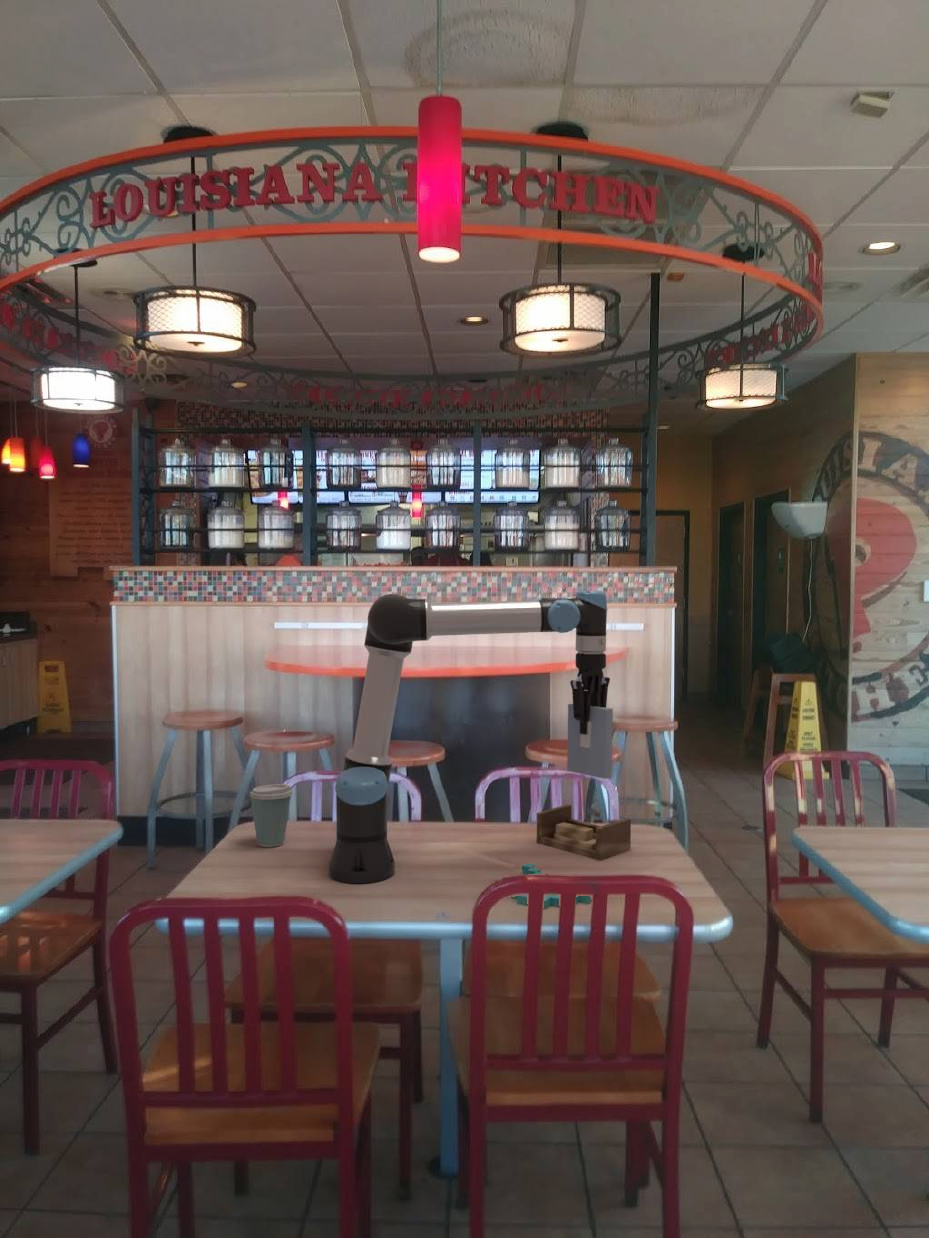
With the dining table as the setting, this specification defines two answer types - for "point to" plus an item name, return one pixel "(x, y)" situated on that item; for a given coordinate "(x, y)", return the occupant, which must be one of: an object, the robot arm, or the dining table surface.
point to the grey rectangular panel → (600, 753)
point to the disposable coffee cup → (270, 813)
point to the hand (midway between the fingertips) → (589, 746)
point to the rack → (607, 837)
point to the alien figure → (549, 899)
